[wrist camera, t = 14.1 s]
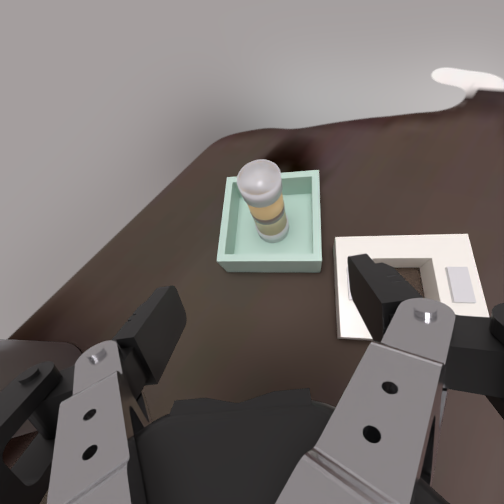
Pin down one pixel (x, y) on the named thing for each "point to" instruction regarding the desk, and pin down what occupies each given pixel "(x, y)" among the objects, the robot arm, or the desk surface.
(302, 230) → the parts tray
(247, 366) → the desk surface
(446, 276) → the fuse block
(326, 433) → the robot arm
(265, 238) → the white and tan cylinder
